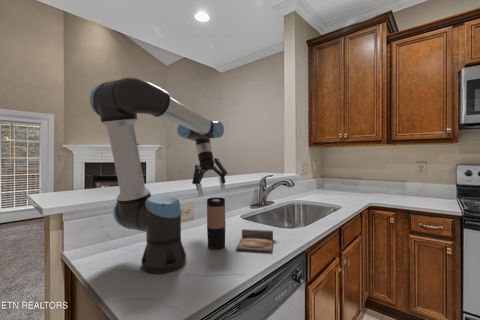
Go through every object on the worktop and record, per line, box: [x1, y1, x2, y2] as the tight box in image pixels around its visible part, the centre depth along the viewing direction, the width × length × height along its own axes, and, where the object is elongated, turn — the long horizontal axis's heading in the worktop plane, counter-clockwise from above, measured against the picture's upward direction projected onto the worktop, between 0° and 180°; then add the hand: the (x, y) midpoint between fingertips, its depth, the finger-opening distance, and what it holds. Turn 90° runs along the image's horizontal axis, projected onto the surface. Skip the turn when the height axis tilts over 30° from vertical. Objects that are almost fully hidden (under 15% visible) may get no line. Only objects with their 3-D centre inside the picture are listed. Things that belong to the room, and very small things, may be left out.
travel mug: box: [206, 197, 226, 251], centre depth 99 cm, size 8×8×20 cm
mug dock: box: [235, 228, 274, 254], centre depth 101 cm, size 15×14×4 cm
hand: (212, 193), depth 118 cm, fingers open, 13 cm apart
